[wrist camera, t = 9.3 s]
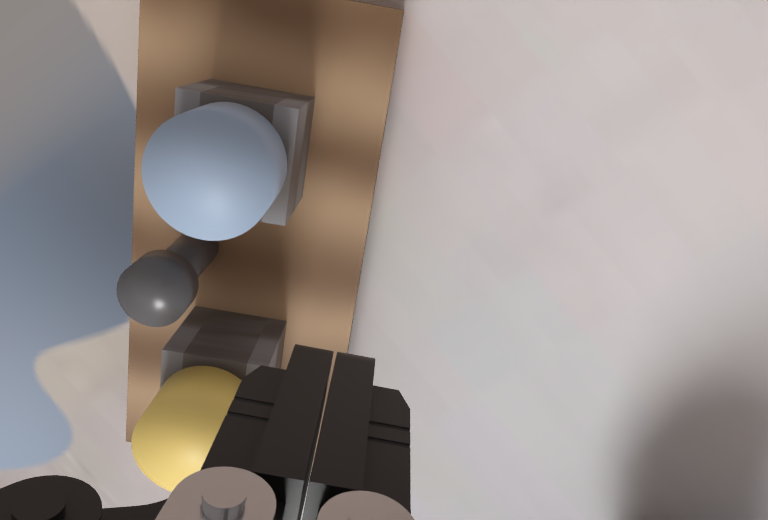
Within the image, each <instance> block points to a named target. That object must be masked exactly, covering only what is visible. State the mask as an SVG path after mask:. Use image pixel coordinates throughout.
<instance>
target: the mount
mask: <svg viewBox="0 0 768 520" xmlns="http://www.w3.org/2000/svg"><path fill="white" fill-rule="evenodd" d="M403 14H404V10H400V9H395V8H389V7H384V6H378V5H373V4H367V3H361V2H356V1H350V0H140V17H139V48H138V80H137V111H136V145H135V174H134V205H133V237H132V264H133V263H134V262H135V261H136V260H138V259H139V258H140V257H141V256H142V255H144V254H145V253H147V252H150V251H153V250H161V249H163V250H166V249H167V248H168V247H169V246H170V245H171V244H172V243H174V242H175V241H176V240H177V239H178V238H179V237H180V236H181V235H182V234H183V233H181V232H179V231H177V230H176V229H174V228H173V227H171V226H170V225H169V224H168V223H167V222H165V221H164V220H163V219H162V218H161V217H160V216H159V214H158V213H157V212H156V211H155V209H154V208H153V206H152V205H151V203H150V201H149V199H148V197H147V195H146V192H145V189H144V186H143V181H142V172H141V166H142V157H143V153H144V150H145V147H146V145H147V142H148V141H149V139H150V137H151V136H152V134H153V133H154V132H155V131H156V129H157V128H158V127H160V126H161V125H162V124H163V123H164V122H166V121H167V120H169V119H170V118H172V117H174V116H177V115H179V114H182V113H184V112H187V111H190V110H192V109H195V108H198V107H200V106H203V105H206V104H209V103H214V102H233V103H238V104H242V105H244V106H247V107H249V108H251V109H253V110H255V111H257V112H258V113H259V114H261V115H262V116H264V117H265V118H266V119H267V120H268V121H269V122H270V123H271V124H272V126H273V127H274V128H275V129H276V131H277V132H278V134H279V136H280V138H281V140H282V142H283V145H284V148H285V151H286V156H287V174H286V179H285V182H284V186H283V188H282V190H281V192H280V194H279V195H278V197H277V198H276V199H275V201H274V202H273V203H272V205H271V206H270V207H269V209H268V210H267V211H266V213H265V214H264V215H263V216H262V218H261V219H260V220H259V221H258V222H257V223H256V225H254V226H253V227H252V228H251V229H250V230H248V231H247V232H245V233H243V234H241V235H239V236H237V237H234V238H231V239H227V240H220V241H218V246H219V249H218V253H217V255H216V257H215V258H214V259H213V260H212V262H211V263H210V264H209V265H208V266H207V268H206V269H205V270H204V271H203V272H202V274H201V275H200V276H199V277H198V281H199V288H198V293H197V295H196V298H195V299H194V301H193V302H192V303H191V305H190V306H189V307H188V308H187V310H186V311H185V312H184V313H183V315H182V316H181V317H180V318H179V319H178V320H177V321H176V322H174V323H172V324H170V325H168V326H164V327H150V326H146V325H143V324H140V323H138V322H136V321H135V320H133V319H132V318H131V317H130V331H129V362H128V394H127V425H126V441H128V442H131V441H132V434H133V431H134V428H135V426H136V424H137V422H138V421H139V419H140V418H141V416H142V415H143V414H144V412H145V411H146V409H147V408H148V406H149V405H150V403H151V402H152V400H153V399H154V397H155V396H156V394H157V393H158V391H159V390H160V389H161V387H162V386H163V384H164V383H165V381H166V380H167V379H168V378H169V377H170V376H172V375H173V374H174V373H176V372H178V371H180V370H182V369H185V368H188V367H193V366H212V367H216V368H220V369H223V370H225V371H228V372H230V373H232V374H233V375H235V376H236V377H238V378H239V379H240V380H242V379H243V378H244V377H245V376H247V375H248V374H250V373H251V372H252V371H254V370H255V369H257V368H258V367H259V366H261V365H263V366H268V367H274V368H279V369H285V370H286V369H287V366H288V363H289V360H290V357H291V354H292V351H293V349H294V346H295V344H298V345H304V346H309V347H314V348H320V349H325V350H331V351H334V353H333V359H332V364H331V370H330V375H329V381H328V386H327V392H326V397H325V403H324V408H323V413H322V419H323V415H324V410H325V406H326V401H327V396H328V392H329V387H330V382H331V378H332V373H333V368H334V364H335V359H336V354H337V352H342V353H347V351H348V345H349V339H350V333H351V327H352V321H353V315H354V309H355V303H356V297H357V291H358V285H359V279H360V273H361V267H362V261H363V255H364V249H365V243H366V237H367V231H368V225H369V219H370V213H371V207H372V201H373V195H374V189H375V183H376V177H377V171H378V165H379V159H380V153H381V146H382V140H383V134H384V128H385V122H386V116H387V110H388V104H389V98H390V92H391V86H392V80H393V74H394V68H395V62H396V56H397V50H398V44H399V38H400V32H401V26H402V20H403ZM322 419H321V424H322ZM321 424H320V429H321ZM319 433H320V430H319ZM318 438H319V435H318ZM317 443H318V440H317ZM316 447H317V445H316ZM315 452H316V450H315ZM314 457H315V455H314ZM313 461H314V459H313ZM312 466H313V464H312ZM311 470H312V468H311Z"/></svg>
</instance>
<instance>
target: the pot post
mask: <svg viewBox="0 0 768 520" xmlns="http://www.w3.org/2000/svg"><path fill="white" fill-rule="evenodd" d="M218 249H219V246H218V241H208V240H201V239H196V238H193V237H190V236H187V235H185V234H182V235H181V236H180V237H179V238H178V239H177V240H176V241H175V242H174V243H172V244H171V245H170V246H169V247H168V248H167V249H166V250H163V249H161V250H153V251H150V252H147V253H145V254H144V255H142V256H141V257H140V258H139V259H138V260H136V261H135V262H134V263H133V264H132V265H131V266H129V267H128V268H127V269H126V270H125V271H124V272H123V273H122V274H121V276H120V278H119V281H118V284H117V297H118V300H119V303H120V305H121V307H122V308H123V310H124V311H125V312H126V314H127V315H128V316H129V317H131V318H132V319H133V320H135V321H136V322H138V323H140V324H143V325H146V326H150V327H164V326H168V325H170V324H172V323H174V322H176V321H177V320H178V319H179V318H180V317H181V316H182V315H183V313H184V312H185V311H186V310H187V308H188V307H189V306H190V305H191V303H192V302H193V301H194V299H195V298H196V295H197V293H198V288H199V281H198V277H199V276H200V275H201V274H202V272H203V271H204V270H205V269H206V268H207V266H208V265H209V264H210V263H211V262H212V260H213V259H214V258H215V257H216V255H217V253H218Z"/></svg>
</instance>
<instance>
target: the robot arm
mask: <svg viewBox="0 0 768 520" xmlns="http://www.w3.org/2000/svg"><path fill="white" fill-rule="evenodd" d="M333 353H334V351H331V350H325V349H320V348H314V347H309V346H304V345H298V344H295V346H294V349H293V351H292V354H291V357H290V360H289V363H288V366H287V369H286V370H285V369H279V368H274V367H268V366H263V365H261V366H259V367H258V368H257V369H255V370H254V371H252V372H251V373H250V374H248V375H247V376H245V377H244V378H243V379H242V381H241V383H240V385H239V387H238V390H237V392H236V394H235V396H234V400H232V403H231V405H230V407H229V409H228V411H227V415H226V416H225V418H224V420H223V422H222V424H221V426H220V428H219V431H218V433H217V435H216V437H215V439H214V441H213V444H212V446H211V448H210V450H209V452H208V454H207V457H206V459H205V461H204V463H203V465H202V467H201V470H200V471H197V472H195V473H193V474H191V475H189V476H188V477H186V478H184V479H183V480H182V481H181V482H180V483H179V484H178V485H177V486H176V487H175V488H174V490H173V491H172V493H171V494H170V496H169V498H168V499H166V500H163V501H160V502H157V503H152V504H148V505H141V506H130V507H117V508H104V509H102V502H101V499H100V496H99V495H98V493H97V492H96V490H95V489H94V488H92V487H91V486H90V485H89V484H87V483H85V482H84V481H81V480H79V479H76V478H72V477H67V476H58V475H52V476H40V477H33V478H29V479H25V480H22V481H19V482H16V483H13V484H11V485H8V486H6V487H3V488H1V489H0V520H300V519H301V515H302V510H303V505H304V501H305V496H306V492H307V496H306V502H305V507H304V513H303V518H302V520H414V519H413V517H412V516H411V510H410V432H409V431H410V408H409V406H408V405H407V403H406V402H405V400H404V398H403V397H402V395H401V393H400V392H399V390H394V389H389V388H383V387H378V386H373V377H374V367H375V359H374V358H369V357H364V356H358V355H353V354H347V353H342V352H337V354H336V359H335V364H334V368H333V373H332V378H331V382H330V387H329V392H328V396H327V401H326V406H325V410H324V415H323V419H322V413H323V408H324V403H325V397H326V392H327V386H328V381H329V375H330V370H331V364H332V359H333ZM321 419H322V424H321ZM320 424H321V429H320ZM319 430H320V433H319ZM318 435H319V438H318ZM317 440H318V443H317ZM316 445H317V447H316ZM315 450H316V452H315ZM314 455H315V457H314ZM313 459H314V461H313ZM312 464H313V466H312ZM311 468H312V471H311ZM310 473H311V475H310ZM309 478H310V480H309ZM308 482H309V485H308ZM307 487H308V491H307Z"/></svg>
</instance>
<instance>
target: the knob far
mask: <svg viewBox="0 0 768 520" xmlns="http://www.w3.org/2000/svg"><path fill="white" fill-rule="evenodd" d="M241 381H242V380H240V379H239V378H238V377H236V376H235V375H233V374H232V373H230V372H228V371H225V370H223V369H220V368H216V367H212V366H193V367H188V368H185V369H182V370H180V371H178V372H176V373H174V374H173V375H172V376H170V377H169V378H168V379H167V380H166V381H165V383H164V384H163V386H162V387H161V389H160V390H159V391H158V393H157V394H156V396H155V397H154V399H153V400H152V402H151V403H150V405H149V406H148V408H147V409H146V411H145V412H144V414H143V415H142V416H141V418H140V419H139V421H138V422H137V424H136V426H135V428H134V431H133V434H132V441H131V443H132V451H133V455H134V458H135V460H136V462H137V464H138V466H139V468H140V469H141V470H142V472H143V473H144V474H145V475H146V476H147V477H148V478H149V479H150V480H151V481H153V482H154V483H155V484H157V485H158V486H160V487H162V488H164V489H166V490H168V491H171V492H172V491H173V490H174V488H175V487H176V486H177V485H178V484H179V483H180V482H181V481H182V480H183V479H184V478H186V477H188V476H189V475H191V474H193V473H195V472H197V471H200V470H201V467H202V465H203V463H204V461H205V459H206V457H207V454H208V452H209V450H210V448H211V446H212V444H213V441H214V439H215V437H216V435H217V433H218V431H219V428H220V426H221V424H222V422H223V420H224V418H225V416H226V415H227V411H228V409H229V407H230V405H231V403H232V400H234V396H235V394H236V392H237V390H238V387H239V385H240V383H241Z"/></svg>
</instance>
